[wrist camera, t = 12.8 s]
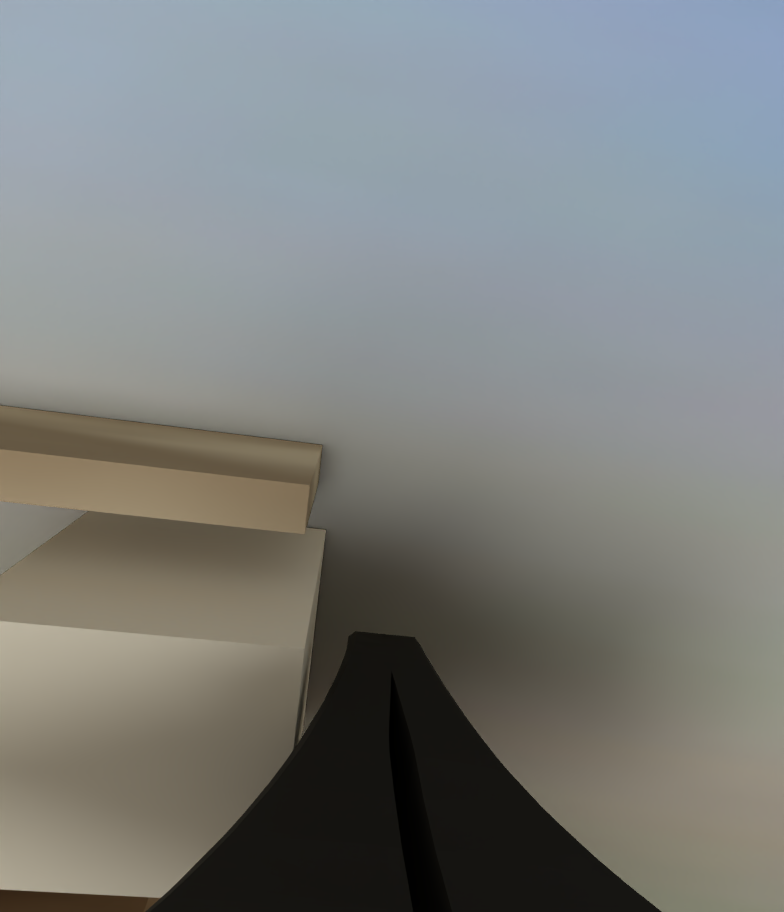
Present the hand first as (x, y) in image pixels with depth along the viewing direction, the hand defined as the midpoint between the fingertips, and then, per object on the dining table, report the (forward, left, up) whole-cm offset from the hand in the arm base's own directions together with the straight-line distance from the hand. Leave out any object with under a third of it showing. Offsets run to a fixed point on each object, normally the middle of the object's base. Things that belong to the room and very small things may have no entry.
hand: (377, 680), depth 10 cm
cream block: (0, +4, -2) cm, 4 cm away
